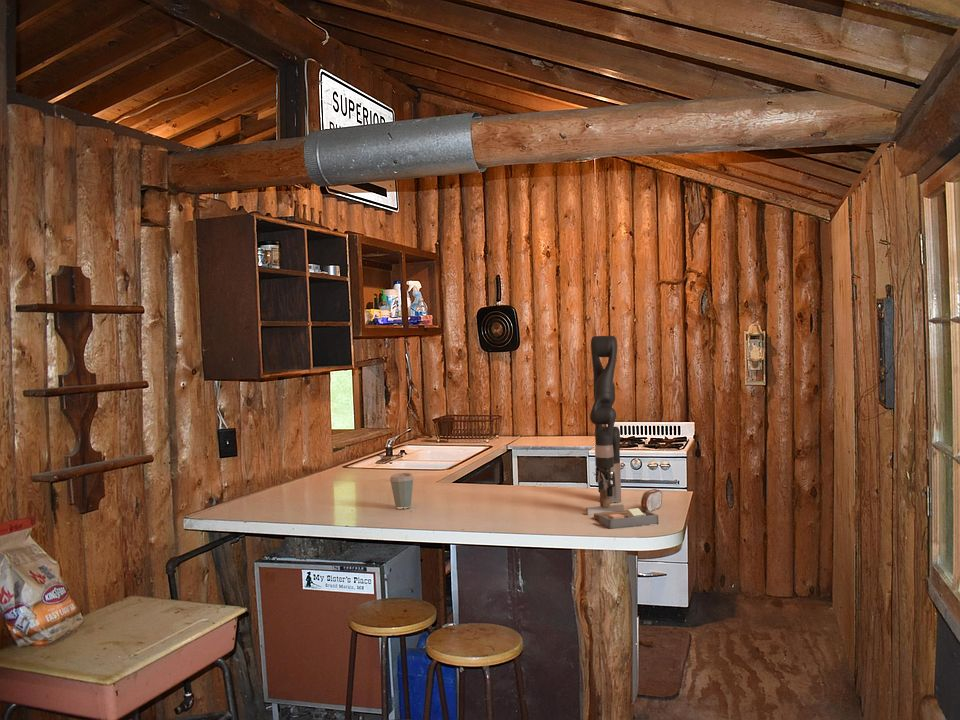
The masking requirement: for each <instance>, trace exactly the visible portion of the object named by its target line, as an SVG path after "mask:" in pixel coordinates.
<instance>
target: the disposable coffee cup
mask: <svg viewBox="0 0 960 720" xmlns="http://www.w3.org/2000/svg"><path fill="white" fill-rule="evenodd" d="M389 481H390V485H391V490H392V495H393V500H394V505H395V508H396V507H409V506H410V507H412V497H413V496H412V495H413V484H414V483H413V482H414V476H413V474H412V473H410V472H401V473H399V472H398V473H395V474H392V475H391V476H390V478H389Z"/></svg>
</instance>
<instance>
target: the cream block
mask: <svg viewBox="0 0 960 720" xmlns="http://www.w3.org/2000/svg"><path fill="white" fill-rule="evenodd" d="M627 510H628V513H627V516H628V517H639V516H645V514H644V513H643V511H642V510H641V509H640V508H639V507H637V508H636V507H634V508H630V509H629V508H628V509H627Z"/></svg>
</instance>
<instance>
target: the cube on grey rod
mask: <svg viewBox="0 0 960 720" xmlns="http://www.w3.org/2000/svg"><path fill="white" fill-rule="evenodd" d="M599 505H600V506H590V507H586V509H585V512H586V513H585V514H587V516H594V515H593V514H594V513H604V512H615V511H625V505H624V504H613V505H611V503H610V497H608V496H607V489H600V493H599Z"/></svg>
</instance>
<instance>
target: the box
mask: <svg viewBox="0 0 960 720" xmlns="http://www.w3.org/2000/svg"><path fill="white" fill-rule="evenodd" d="M650 524H657V525H659V515H658V514H656V513H654V512H653V511H651V512H649V511H645V515H644V516H639V517H628V518H617V519H609V518H607V517H605V516H603V515H600V521H599V525H601V526H604V528H606V529H609V530H612V529H613V530H615V529H622V528H635V527H634V526H636V527H643V526H642V525H646V526H651V525H650Z"/></svg>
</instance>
